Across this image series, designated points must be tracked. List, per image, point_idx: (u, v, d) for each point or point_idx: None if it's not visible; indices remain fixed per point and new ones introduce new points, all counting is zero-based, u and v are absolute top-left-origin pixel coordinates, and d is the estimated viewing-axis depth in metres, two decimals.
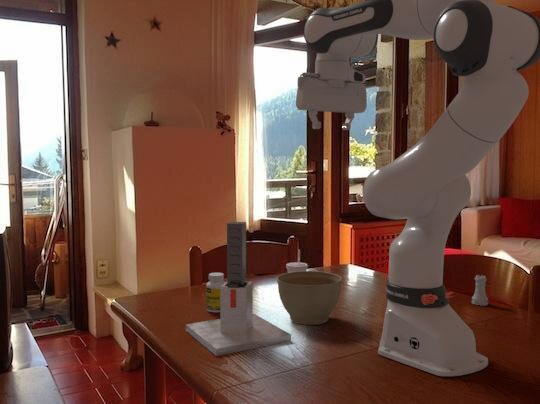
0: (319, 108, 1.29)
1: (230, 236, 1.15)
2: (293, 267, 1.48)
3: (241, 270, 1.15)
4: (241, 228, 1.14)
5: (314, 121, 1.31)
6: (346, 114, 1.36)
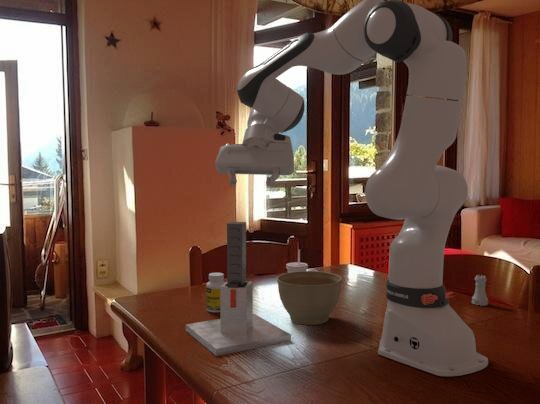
0: (233, 164, 1.30)
1: (230, 236, 1.15)
2: (293, 267, 1.48)
3: (241, 270, 1.15)
4: (241, 228, 1.14)
5: (229, 177, 1.30)
6: None
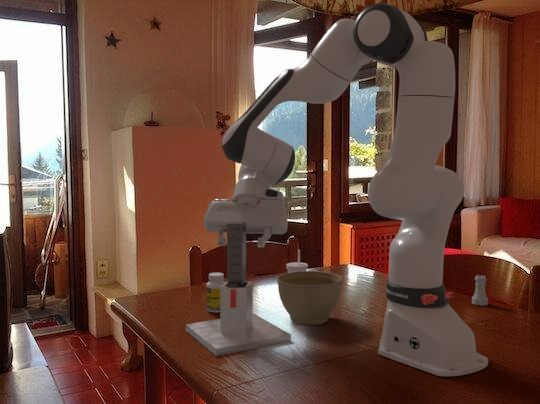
0: (222, 223, 1.23)
1: (230, 236, 1.15)
2: (293, 267, 1.48)
3: (241, 270, 1.15)
4: (241, 228, 1.14)
5: None
6: None
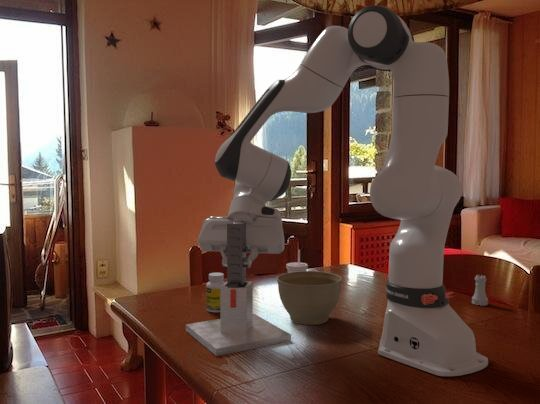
0: (217, 242, 1.19)
1: (230, 236, 1.15)
2: (293, 267, 1.48)
3: (241, 270, 1.15)
4: (241, 228, 1.14)
5: (223, 257, 1.18)
6: None
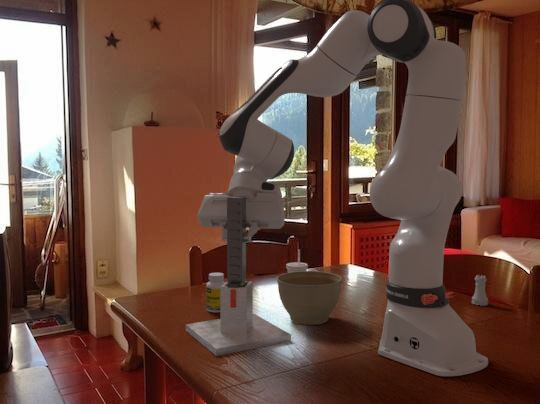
0: (217, 217, 1.18)
1: (230, 210, 1.14)
2: (293, 267, 1.48)
3: (241, 244, 1.14)
4: (241, 202, 1.14)
5: None
6: None
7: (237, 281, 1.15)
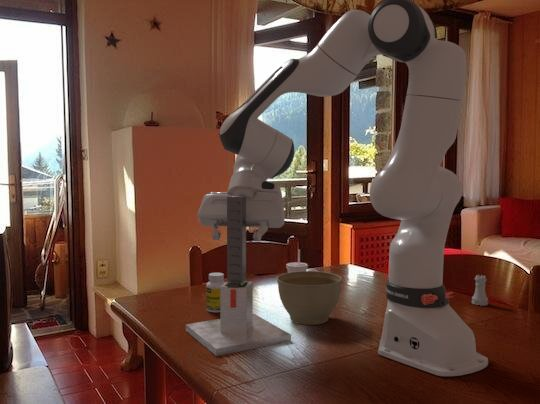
0: (217, 216, 1.18)
1: (230, 209, 1.14)
2: (293, 267, 1.48)
3: (241, 243, 1.14)
4: (241, 201, 1.14)
5: (213, 231, 1.18)
6: None
7: (237, 280, 1.15)
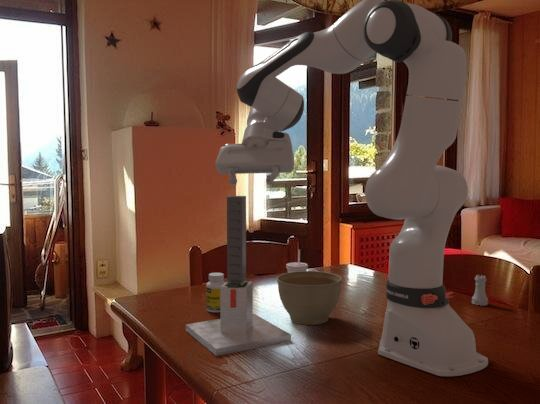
0: (233, 164, 1.31)
1: (230, 209, 1.14)
2: (293, 267, 1.48)
3: (241, 243, 1.14)
4: (241, 201, 1.14)
5: (230, 177, 1.30)
6: None
7: (237, 280, 1.15)
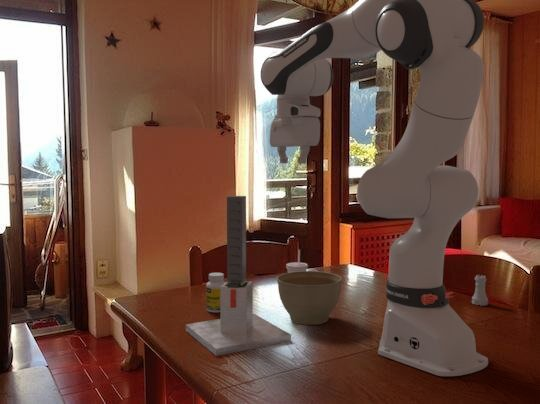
0: (278, 145, 1.43)
1: (230, 209, 1.14)
2: (293, 267, 1.48)
3: (241, 243, 1.14)
4: (241, 201, 1.14)
5: None
6: None
7: (237, 280, 1.15)
